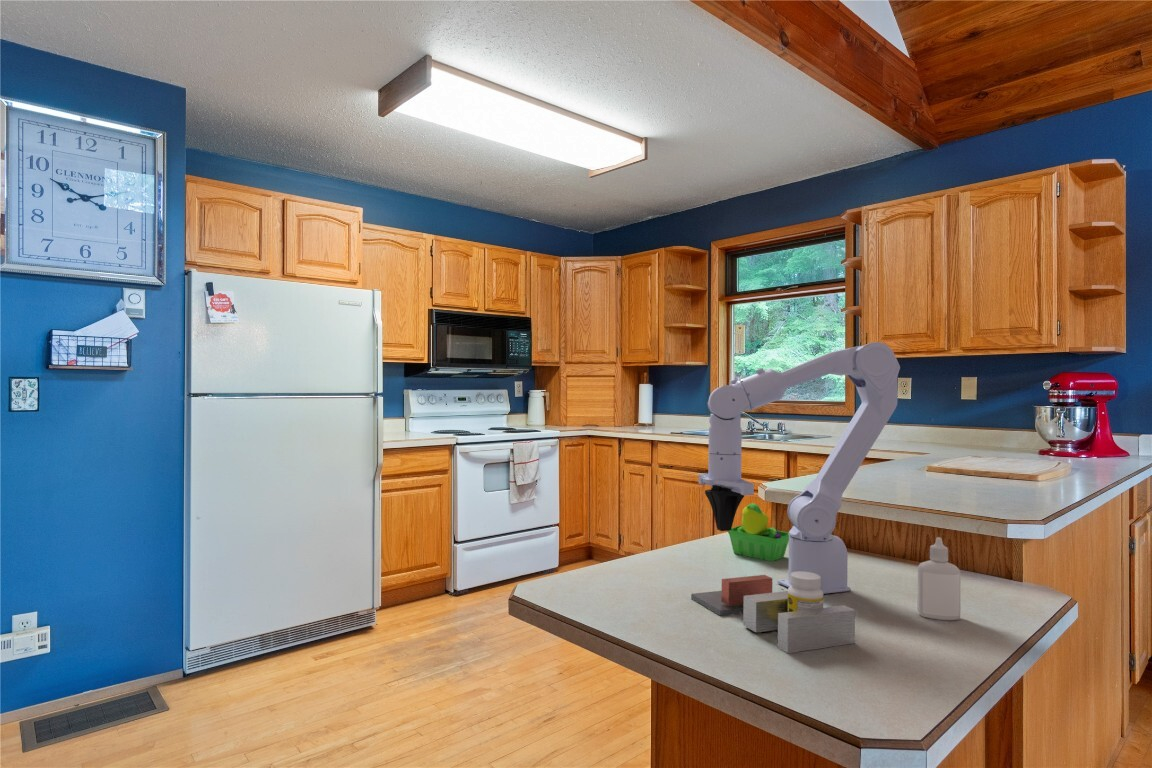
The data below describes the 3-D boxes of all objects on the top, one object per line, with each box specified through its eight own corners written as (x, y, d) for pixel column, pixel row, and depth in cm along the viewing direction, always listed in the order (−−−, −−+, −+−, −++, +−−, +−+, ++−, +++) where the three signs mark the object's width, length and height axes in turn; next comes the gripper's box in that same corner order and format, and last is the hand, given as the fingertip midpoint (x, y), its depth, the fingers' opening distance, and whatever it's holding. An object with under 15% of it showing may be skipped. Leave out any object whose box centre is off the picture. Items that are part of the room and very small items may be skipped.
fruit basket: (792, 557, 134) (793, 503, 134) (772, 565, 128) (773, 508, 128) (743, 547, 142) (743, 496, 142) (722, 554, 135) (722, 500, 136)
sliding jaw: (772, 600, 104) (772, 574, 104) (819, 624, 94) (820, 594, 94) (713, 607, 100) (713, 579, 100) (755, 632, 90) (756, 601, 90)
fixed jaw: (843, 637, 89) (844, 605, 89) (854, 643, 87) (854, 609, 87) (777, 647, 85) (778, 613, 85) (787, 653, 83) (787, 618, 84)
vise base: (753, 591, 109) (753, 587, 109) (785, 607, 101) (785, 602, 101) (691, 598, 105) (691, 593, 105) (720, 615, 97) (720, 610, 97)
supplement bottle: (787, 627, 93) (788, 568, 93) (822, 631, 91) (823, 572, 91) (786, 639, 88) (787, 577, 88) (823, 644, 87) (824, 581, 87)
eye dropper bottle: (955, 624, 95) (956, 543, 95) (914, 615, 99) (914, 537, 99) (963, 617, 98) (963, 538, 98) (922, 609, 102) (922, 532, 102)
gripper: (684, 450, 120) (683, 523, 120) (728, 457, 107) (727, 540, 106) (717, 449, 123) (716, 521, 122) (764, 457, 109) (763, 537, 109)
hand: (724, 530), depth 115 cm, fingers closed
